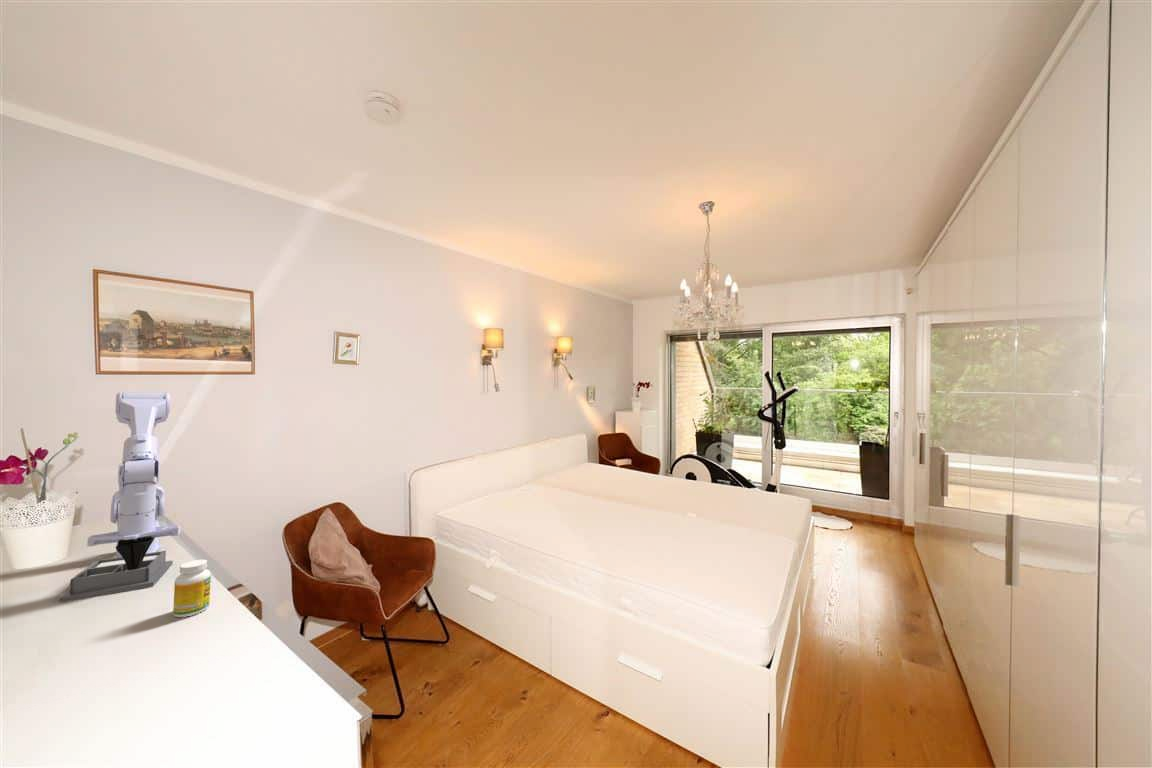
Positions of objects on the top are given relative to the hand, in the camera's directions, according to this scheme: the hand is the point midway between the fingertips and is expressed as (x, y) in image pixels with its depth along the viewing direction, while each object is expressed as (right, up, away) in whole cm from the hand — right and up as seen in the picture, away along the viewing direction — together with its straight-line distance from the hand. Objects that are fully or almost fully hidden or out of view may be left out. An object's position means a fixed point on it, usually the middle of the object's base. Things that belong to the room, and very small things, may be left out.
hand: (134, 571), depth 93 cm
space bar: (-5, -1, +3) cm, 6 cm away
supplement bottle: (+24, -3, -11) cm, 27 cm away
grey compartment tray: (-4, -3, +1) cm, 5 cm away
